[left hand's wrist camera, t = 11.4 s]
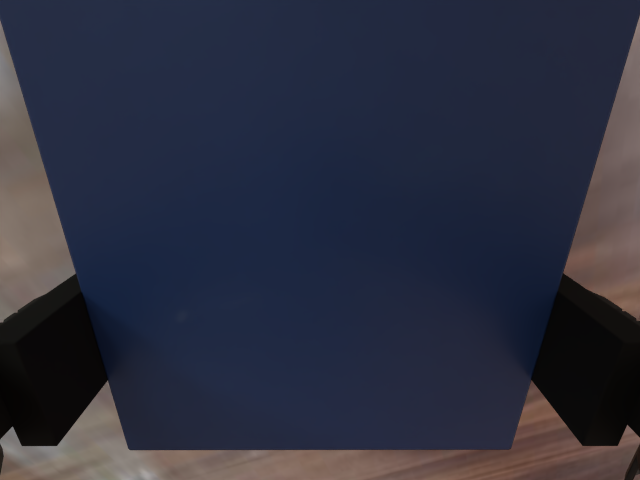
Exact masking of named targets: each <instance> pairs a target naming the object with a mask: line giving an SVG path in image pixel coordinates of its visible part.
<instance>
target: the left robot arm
mask: <svg viewBox="0 0 640 480" xmlns="http://www.w3.org/2000/svg"><path fill="white" fill-rule="evenodd" d="M107 380H108V379H107V375H106V372H105V369H104V365H103V362H102V359H101V355H100V352H99V349H98V345H97V342H96V339H95V335H94V332H93V328H92V325H91V322H90V318H89V315H88V312H87V308H86V305H85V302H84V298H83V295H82V292H81V288H80V285H79V282H78V278H77V275H76V274H75V275H73V276H72V277H70V278H69V279H67V280H66V281H64V282H63V283H61V284H60V285H59V286H57V287H56V288H54V289H53V290H51V291H50V292H48V293H47V294H45V295H43V296H41V297H38V298H36V299H34V300H33V301H31V302H30V303H28V304H27V305H25V306H24V307H22V308H21V309H19V310H18V313H13V314H12V315H10V316H9V317H8V318H6V319H5V320H4V322H3V323H0V439H1V438H2V437H3V436H4V435H5V434H6V433H7V432H8V430H9V429H10V428H11V427H12V426H13V428H14V430H15V432H16V434H17V436H18V439H19V441H20V443H21V445H22V446H57V445H58V444H59V443H60V441H61V440H62V439H63V437H64V436H65V435H66V433H67V432H68V431H69V430H70V428H71V427H72V426H73V424H74V423H75V422H76V421H77V419H78V418H79V417H80V415H81V414H82V413H83V412H84V410H85V409H86V408H87V406H88V405H89V404H90V402H91V401H92V400H93V399H94V397H95V396H96V395H97V393H98V392H99V391H100V390H101V388H102V387H103V386H104V384H105V383H106V382H107ZM531 380H532V381H533V382H534V384H535V385H536V386H537V387H538V389H539V390H540V391H541V393H542V394H543V395H544V397H545V398H546V399H547V400H548V402H549V403H550V404H551V406H552V407H553V408H554V409H555V411H556V412H557V413H558V415H559V416H560V417H561V419H562V420H563V421H564V422H565V424H566V425H567V426H568V428H569V429H570V430H571V431H572V433H573V434H574V435H575V437H576V438H577V439H578V440H579V442H580V443H581V444H582V446H618V444H619V442H620V439H621V437H622V435H623V433H624V431H625V428H626V426H627V425H628V426H629V427H630V428H631V429H632V430H633V431H634V432H635V433H636V434H637V435H638V436H639V437H640V321H636V318H635V317H633V316H632V315H630V314H629V313H627V312H626V311H622V309H621V308H620V307H618V306H617V305H615V304H614V303H612V302H611V301H609V300H608V299H606V298H605V297H602V296H600V295H598V294H596V293H593V292H591V291H589V290H587V289H585V288H584V287H582V286H581V285H580V284H578V283H577V282H575V281H574V280H572V279H571V278H569V277H568V276H566V275H565V274H563V275H562V278H561V282H560V285H559V288H558V292H557V295H556V298H555V302H554V305H553V309H552V312H551V315H550V319H549V322H548V325H547V329H546V332H545V335H544V339H543V342H542V346H541V349H540V352H539V356H538V359H537V362H536V366H535V369H534V373H533V376H532V379H531ZM3 457H4V455H3V449H2V447H1V445H0V473H1V468H2V462H3ZM638 474H640V445H639V447H638V449H637V451H636V453H635V455H634V457H633V459H632V461H631V463H630V465H629V467H628V469H627V471H626V474H625V480H633V479H634V477H635V475H638Z"/></svg>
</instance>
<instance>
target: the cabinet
mask: <svg viewBox="0 0 640 480" xmlns="http://www.w3.org/2000/svg"><path fill="white" fill-rule="evenodd" d="M639 16H640V0H0V20H1V23H2V27H3V30H4V34H5V37H6V40H7V44H8V47H9V50H10V54H11V57H12V60H13V64H14V67H15V70H16V74H17V77H18V80H19V84H20V87H21V91H22V94H23V97H24V101H25V104H26V107H27V111H28V114H29V117H30V121H31V124H32V127H33V131H34V134H35V137H36V141H37V144H38V147H39V151H40V154H41V158H42V161H43V164H44V168H45V171H46V174H47V178H48V181H49V184H50V188H51V191H52V194H53V198H54V201H55V204H56V208H57V211H58V215H59V218H60V221H61V225H62V228H63V231H64V235H65V238H66V241H67V245H68V248H69V251H70V255H71V258H72V261H73V265H74V268H75V271H76V275H77V278H78V282H79V285H80V288H81V292H82V295H83V298H84V302H85V305H86V308H87V312H88V315H89V318H90V322H91V325H92V328H93V332H94V335H95V339H96V342H97V345H98V349H99V352H100V355H101V359H102V362H103V365H104V369H105V372H106V375H107V379H108V382H109V385H110V389H111V392H112V395H113V399H114V402H115V406H116V409H117V412H118V416H119V419H120V422H121V426H122V429H123V432H124V436H125V439H126V442H127V446H128V449H129V450H509V449H511V447H512V443H513V440H514V436H515V433H516V430H517V426H518V423H519V420H520V416H521V413H522V410H523V406H524V403H525V399H526V396H527V393H528V389H529V386H530V383H531V379H532V376H533V373H534V369H535V366H536V362H537V359H538V356H539V352H540V349H541V346H542V342H543V339H544V335H545V332H546V329H547V325H548V322H549V319H550V315H551V312H552V309H553V305H554V302H555V298H556V295H557V292H558V288H559V285H560V282H561V278H562V275H563V272H564V268H565V265H566V261H567V258H568V255H569V251H570V248H571V245H572V241H573V238H574V235H575V231H576V228H577V224H578V221H579V218H580V214H581V211H582V208H583V204H584V201H585V197H586V194H587V191H588V187H589V184H590V181H591V177H592V174H593V171H594V167H595V164H596V160H597V157H598V154H599V150H600V147H601V144H602V140H603V137H604V134H605V130H606V127H607V123H608V120H609V117H610V113H611V110H612V107H613V103H614V100H615V97H616V93H617V90H618V86H619V83H620V80H621V76H622V73H623V70H624V66H625V63H626V59H627V56H628V53H629V49H630V46H631V43H632V39H633V36H634V33H635V29H636V26H637V22H638V19H639Z"/></svg>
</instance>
